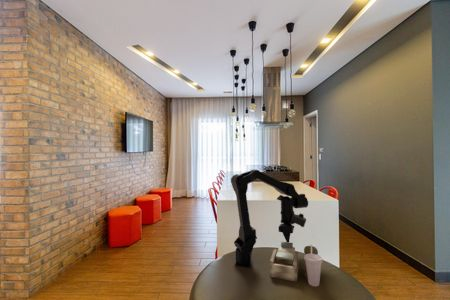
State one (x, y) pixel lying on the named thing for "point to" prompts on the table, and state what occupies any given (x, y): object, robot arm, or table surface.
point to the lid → (286, 251)
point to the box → (284, 267)
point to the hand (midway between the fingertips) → (287, 241)
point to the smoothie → (313, 268)
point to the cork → (308, 251)
